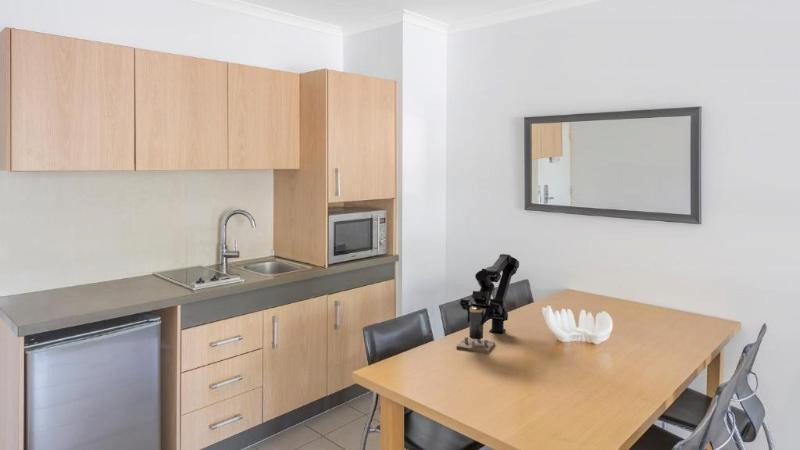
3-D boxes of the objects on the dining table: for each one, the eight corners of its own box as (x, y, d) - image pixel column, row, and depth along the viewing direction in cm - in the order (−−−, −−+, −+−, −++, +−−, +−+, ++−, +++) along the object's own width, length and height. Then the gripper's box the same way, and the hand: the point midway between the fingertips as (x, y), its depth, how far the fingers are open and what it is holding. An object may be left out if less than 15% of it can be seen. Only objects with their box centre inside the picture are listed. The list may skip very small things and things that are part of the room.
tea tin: (468, 334, 244) (469, 306, 242) (482, 334, 243) (483, 306, 242) (469, 339, 238) (469, 310, 236) (483, 339, 237) (484, 310, 236)
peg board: (464, 340, 249) (465, 332, 249) (495, 344, 244) (495, 336, 243) (456, 348, 239) (456, 340, 238) (487, 353, 233) (487, 345, 232)
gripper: (461, 280, 246) (450, 310, 238) (500, 286, 236) (490, 317, 228) (468, 294, 253) (457, 323, 246) (506, 299, 244) (497, 330, 236)
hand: (475, 323), depth 239 cm, fingers closed on tea tin, 6 cm apart
